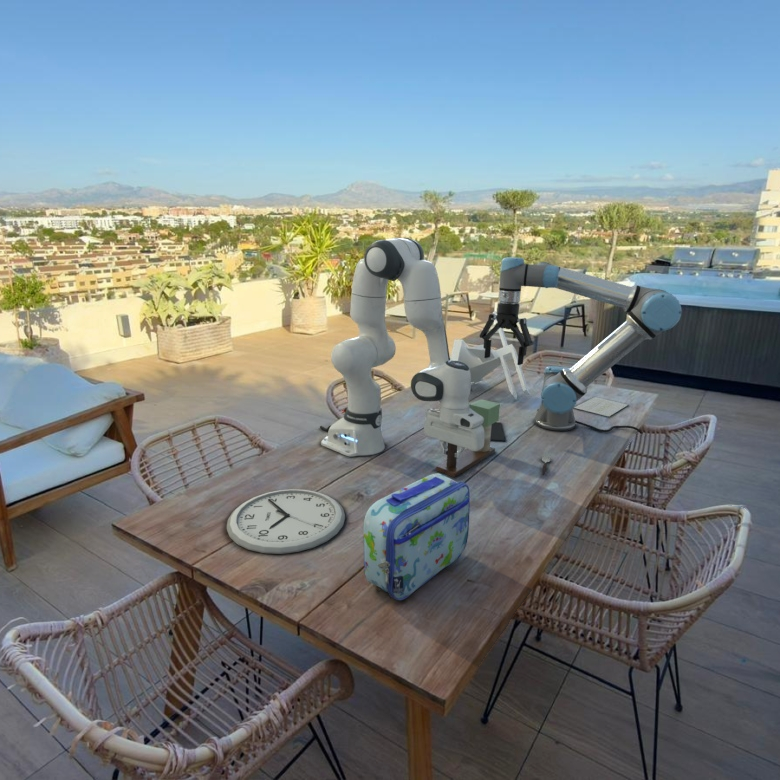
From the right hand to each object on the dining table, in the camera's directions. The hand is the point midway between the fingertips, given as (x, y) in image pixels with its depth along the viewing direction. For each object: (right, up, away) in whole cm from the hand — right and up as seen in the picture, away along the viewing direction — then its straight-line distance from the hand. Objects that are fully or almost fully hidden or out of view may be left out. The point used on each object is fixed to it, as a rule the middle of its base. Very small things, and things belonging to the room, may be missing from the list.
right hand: (503, 360), depth 191 cm
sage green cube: (-10, -21, -16) cm, 28 cm away
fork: (+8, -35, -23) cm, 43 cm away
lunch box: (-35, -51, -75) cm, 98 cm away
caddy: (-16, -34, -20) cm, 42 cm away
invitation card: (+50, -18, +35) cm, 64 cm away
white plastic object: (0, -12, +52) cm, 54 cm away
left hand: (-22, -31, -28) cm, 47 cm away
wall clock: (-68, -44, -56) cm, 98 cm away
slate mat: (-8, -26, +6) cm, 28 cm away
